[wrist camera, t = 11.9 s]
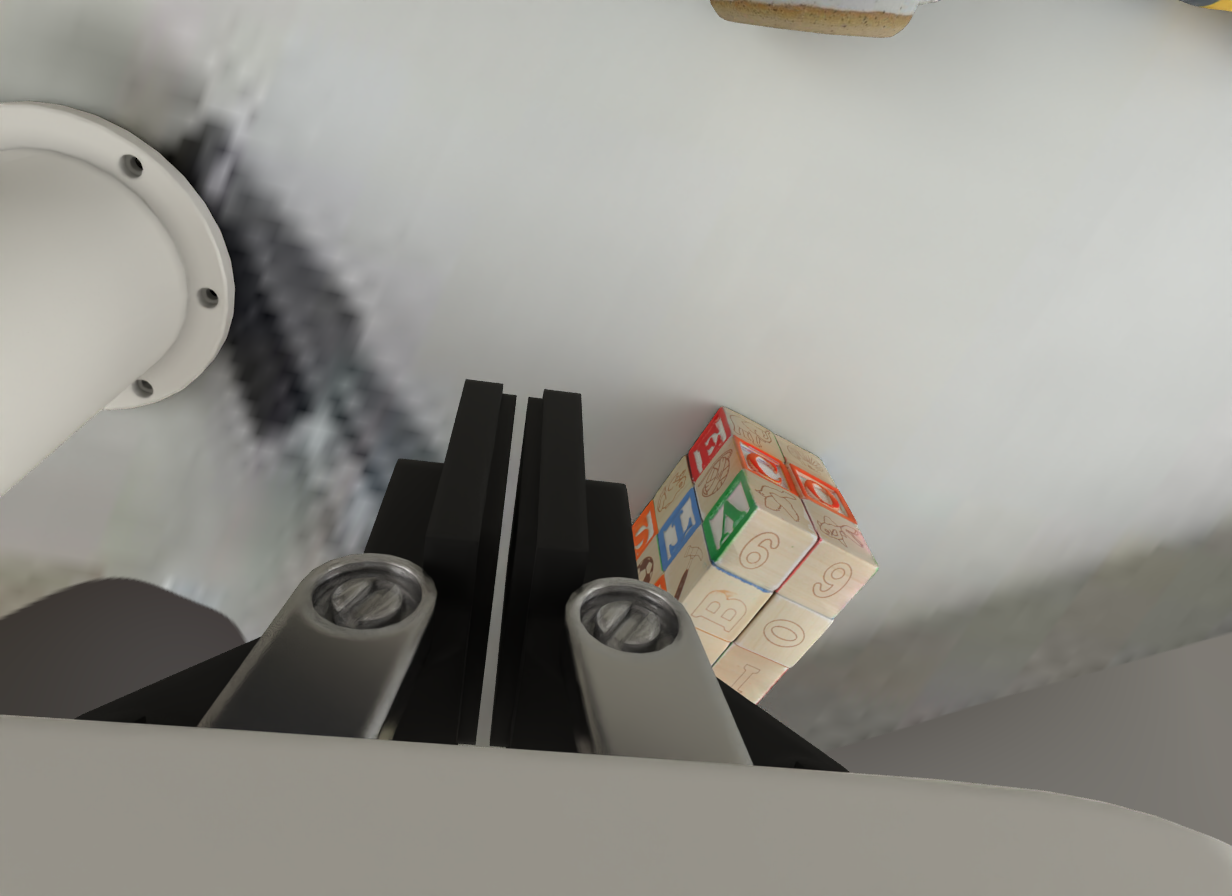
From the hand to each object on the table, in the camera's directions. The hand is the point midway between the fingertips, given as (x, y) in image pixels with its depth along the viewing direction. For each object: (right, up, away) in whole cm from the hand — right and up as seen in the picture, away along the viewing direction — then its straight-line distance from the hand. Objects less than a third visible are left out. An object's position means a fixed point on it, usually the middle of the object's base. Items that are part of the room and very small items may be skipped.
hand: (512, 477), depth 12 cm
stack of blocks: (+4, -7, +32) cm, 33 cm away
